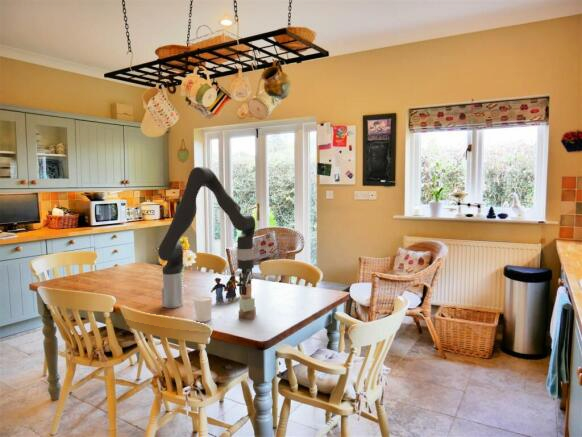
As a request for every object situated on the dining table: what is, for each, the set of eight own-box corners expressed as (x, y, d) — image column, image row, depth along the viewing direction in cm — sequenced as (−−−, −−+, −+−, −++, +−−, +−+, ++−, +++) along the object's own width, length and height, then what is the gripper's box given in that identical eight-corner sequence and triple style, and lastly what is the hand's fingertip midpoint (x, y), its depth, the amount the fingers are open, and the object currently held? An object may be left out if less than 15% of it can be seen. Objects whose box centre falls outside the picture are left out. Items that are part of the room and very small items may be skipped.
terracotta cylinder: (239, 298, 192) (240, 285, 192) (242, 295, 197) (242, 283, 196) (250, 299, 192) (250, 286, 191) (252, 296, 196) (252, 283, 196)
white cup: (191, 321, 190) (190, 300, 189) (201, 315, 197) (200, 295, 196) (206, 323, 187) (205, 301, 186) (215, 317, 194) (214, 296, 193)
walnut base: (238, 320, 192) (238, 311, 191) (241, 314, 199) (240, 306, 198) (253, 319, 191) (253, 311, 191) (255, 314, 198) (255, 306, 198)
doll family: (223, 307, 210) (222, 281, 208) (209, 304, 214) (208, 279, 213) (249, 295, 230) (248, 271, 229) (235, 293, 234) (234, 270, 233)
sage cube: (243, 311, 191) (243, 300, 190) (239, 308, 196) (239, 296, 195) (254, 310, 193) (254, 298, 193) (250, 306, 198) (250, 295, 197)
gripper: (241, 254, 200) (242, 287, 201) (233, 260, 186) (234, 296, 187) (257, 255, 199) (257, 288, 200) (249, 261, 185) (250, 296, 186)
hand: (246, 292), depth 194 cm, fingers open, 8 cm apart
